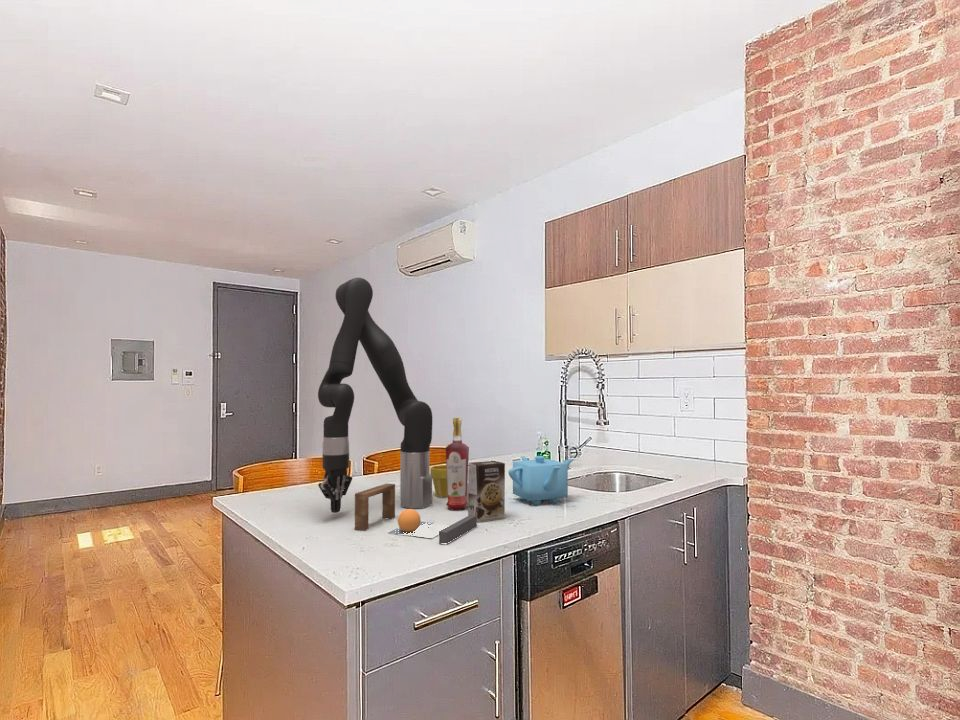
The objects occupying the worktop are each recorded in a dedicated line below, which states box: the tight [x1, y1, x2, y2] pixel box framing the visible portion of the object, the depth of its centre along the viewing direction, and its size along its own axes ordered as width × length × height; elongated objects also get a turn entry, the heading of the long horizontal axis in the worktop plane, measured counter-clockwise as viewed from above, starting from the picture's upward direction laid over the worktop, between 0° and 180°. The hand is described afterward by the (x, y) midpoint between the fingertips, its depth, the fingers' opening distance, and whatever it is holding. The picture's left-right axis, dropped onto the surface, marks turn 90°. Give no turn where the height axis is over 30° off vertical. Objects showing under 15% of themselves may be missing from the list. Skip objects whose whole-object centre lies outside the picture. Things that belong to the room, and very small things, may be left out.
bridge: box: [354, 483, 396, 532], centre depth 156 cm, size 3×15×10 cm, turn 156°
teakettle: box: [508, 455, 575, 506], centre depth 184 cm, size 19×19×15 cm
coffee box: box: [467, 460, 506, 523], centre depth 162 cm, size 9×6×16 cm
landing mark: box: [387, 521, 434, 537], centre depth 150 cm, size 13×13×1 cm
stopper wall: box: [438, 515, 478, 544], centre depth 145 cm, size 2×18×3 cm, turn 156°
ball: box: [397, 508, 422, 532], centre depth 148 cm, size 6×6×6 cm
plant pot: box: [430, 464, 448, 498], centre depth 192 cm, size 10×10×10 cm
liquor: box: [445, 417, 470, 511], centre depth 174 cm, size 7×7×28 cm
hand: (335, 512), depth 161 cm, fingers closed
